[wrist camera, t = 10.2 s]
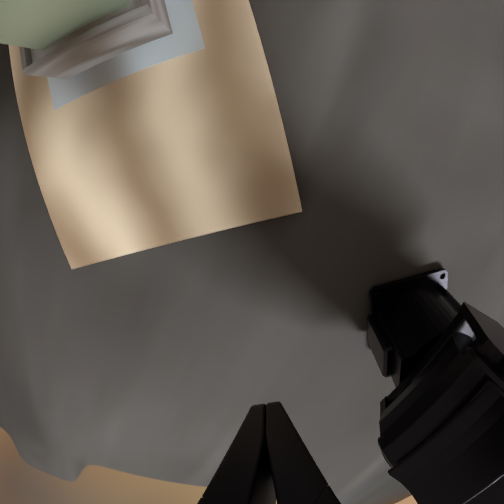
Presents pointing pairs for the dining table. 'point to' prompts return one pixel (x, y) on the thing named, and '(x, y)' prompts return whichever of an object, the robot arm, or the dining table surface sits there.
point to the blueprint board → (154, 127)
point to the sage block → (49, 19)
